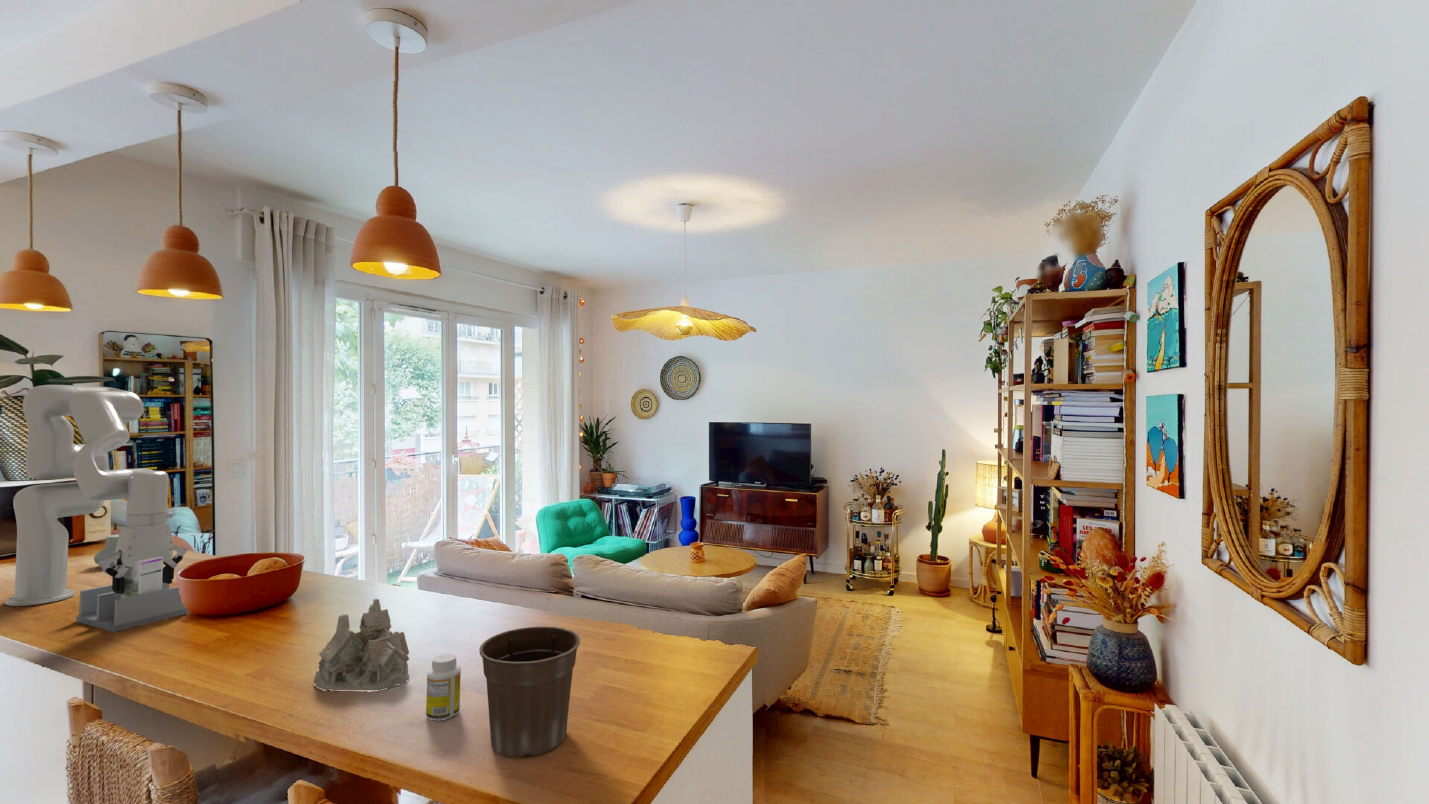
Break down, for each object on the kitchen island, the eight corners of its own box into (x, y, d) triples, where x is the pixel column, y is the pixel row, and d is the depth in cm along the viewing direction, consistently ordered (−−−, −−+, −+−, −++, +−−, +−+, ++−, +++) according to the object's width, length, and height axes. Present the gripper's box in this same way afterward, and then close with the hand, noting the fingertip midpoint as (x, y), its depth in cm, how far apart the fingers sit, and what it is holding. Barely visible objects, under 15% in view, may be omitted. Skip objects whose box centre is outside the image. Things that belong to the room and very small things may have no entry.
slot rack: (75, 621, 149) (77, 591, 149) (151, 604, 163) (152, 576, 163) (113, 632, 143) (114, 600, 143) (188, 613, 157) (189, 584, 157)
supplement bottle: (450, 704, 112) (452, 649, 112) (465, 714, 108) (467, 657, 109) (420, 715, 108) (422, 657, 108) (434, 726, 104) (436, 666, 104)
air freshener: (123, 560, 207) (124, 531, 208) (144, 562, 206) (146, 532, 207) (87, 568, 196) (88, 538, 197) (109, 570, 196) (111, 539, 196)
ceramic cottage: (310, 675, 122) (317, 602, 122) (398, 659, 133) (405, 592, 133) (319, 710, 110) (326, 629, 110) (416, 689, 121) (423, 615, 121)
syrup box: (162, 611, 154) (165, 554, 154) (136, 619, 148) (139, 560, 148) (144, 609, 155) (147, 553, 155) (118, 617, 149) (120, 558, 149)
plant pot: (453, 753, 96) (457, 651, 97) (519, 708, 111) (522, 620, 112) (537, 777, 90) (540, 669, 91) (595, 726, 106) (598, 633, 106)
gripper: (179, 513, 161) (176, 577, 161) (93, 524, 145) (89, 595, 145) (195, 516, 159) (192, 581, 158) (110, 526, 143) (106, 599, 142)
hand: (143, 587), depth 152 cm, fingers open, 9 cm apart
